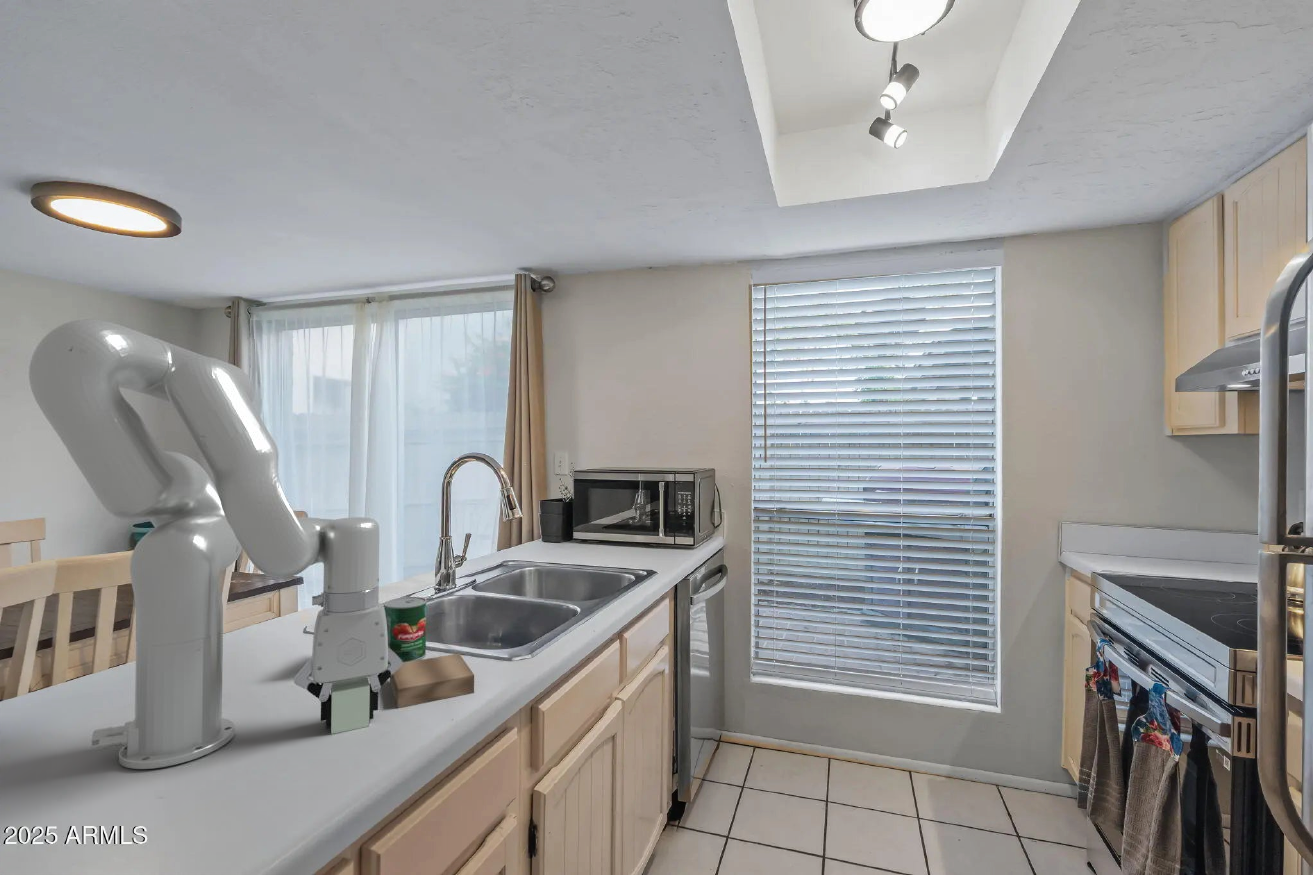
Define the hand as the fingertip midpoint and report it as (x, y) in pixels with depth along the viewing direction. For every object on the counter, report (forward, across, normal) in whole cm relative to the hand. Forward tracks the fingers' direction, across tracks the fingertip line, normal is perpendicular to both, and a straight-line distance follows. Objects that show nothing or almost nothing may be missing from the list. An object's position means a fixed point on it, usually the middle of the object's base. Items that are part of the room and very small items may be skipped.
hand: (349, 718), depth 90 cm
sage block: (+1, 0, 0) cm, 1 cm away
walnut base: (+1, +13, +8) cm, 15 cm away
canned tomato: (+1, +11, +26) cm, 28 cm away
